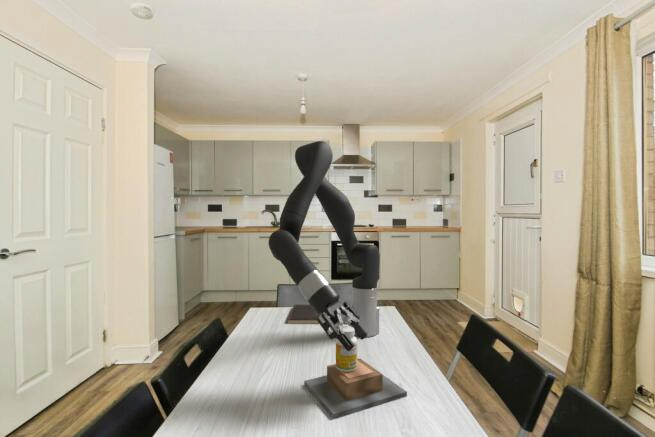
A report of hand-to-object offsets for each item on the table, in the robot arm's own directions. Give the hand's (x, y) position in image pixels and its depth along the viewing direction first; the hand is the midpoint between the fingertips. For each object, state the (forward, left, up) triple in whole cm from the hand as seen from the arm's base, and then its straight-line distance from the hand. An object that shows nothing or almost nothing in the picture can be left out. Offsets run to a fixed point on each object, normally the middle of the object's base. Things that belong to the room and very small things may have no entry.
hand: (358, 342), depth 80 cm
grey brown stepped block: (+1, -1, -12) cm, 12 cm away
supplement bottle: (+2, -3, -7) cm, 8 cm away
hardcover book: (-15, -64, -13) cm, 67 cm away
